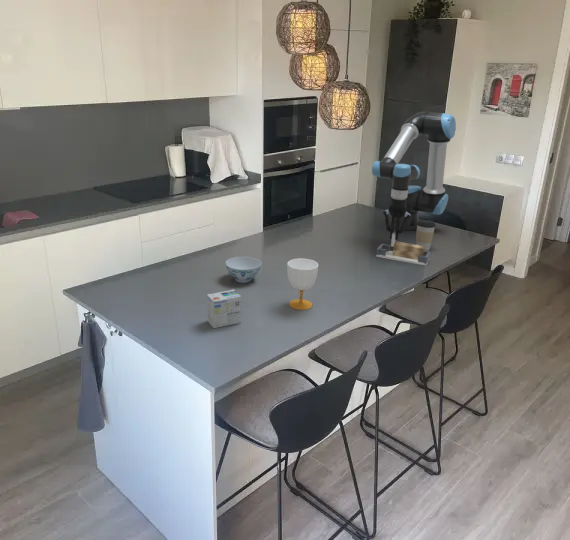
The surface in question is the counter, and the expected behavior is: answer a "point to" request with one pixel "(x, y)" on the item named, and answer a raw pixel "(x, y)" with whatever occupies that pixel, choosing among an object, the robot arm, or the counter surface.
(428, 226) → the coffee cup
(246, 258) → the chinaware
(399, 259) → the holder
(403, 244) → the tan rectangular block
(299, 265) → the cup
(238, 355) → the counter surface
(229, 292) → the light bulb box
